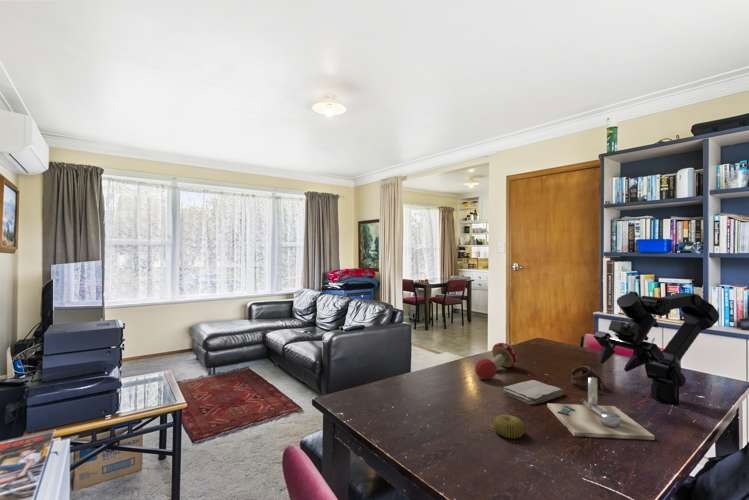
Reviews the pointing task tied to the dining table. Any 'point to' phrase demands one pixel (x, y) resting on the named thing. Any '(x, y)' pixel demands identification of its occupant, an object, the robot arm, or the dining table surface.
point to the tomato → (485, 369)
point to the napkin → (597, 422)
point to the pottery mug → (585, 376)
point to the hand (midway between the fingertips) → (612, 366)
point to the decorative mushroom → (504, 355)
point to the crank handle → (591, 402)
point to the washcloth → (532, 392)
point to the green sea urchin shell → (509, 426)
